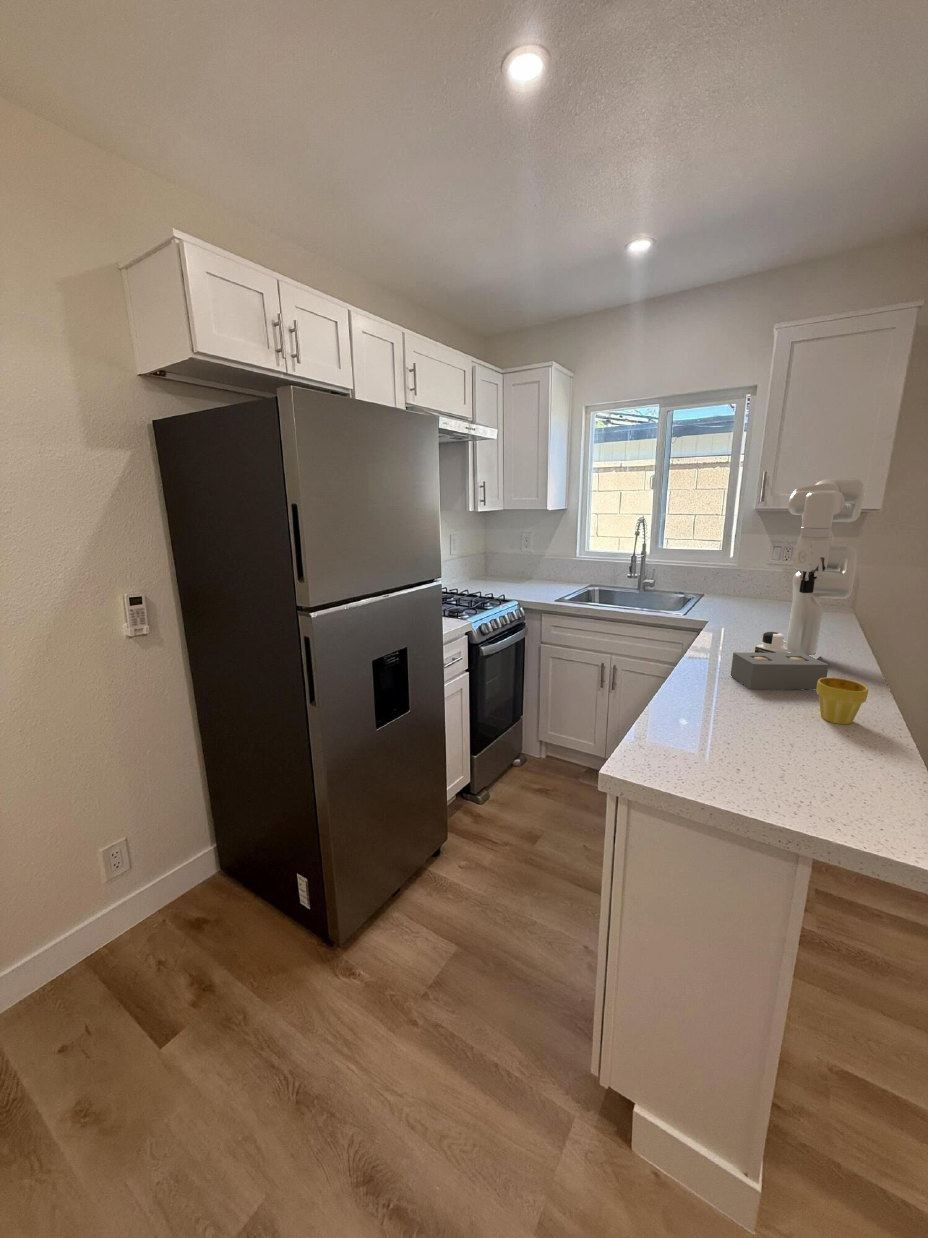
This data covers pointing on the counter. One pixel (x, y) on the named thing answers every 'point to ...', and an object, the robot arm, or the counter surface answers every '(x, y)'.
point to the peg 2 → (797, 659)
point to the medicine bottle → (771, 643)
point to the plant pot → (840, 699)
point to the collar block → (777, 670)
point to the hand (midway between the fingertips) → (806, 592)
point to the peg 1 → (760, 659)
